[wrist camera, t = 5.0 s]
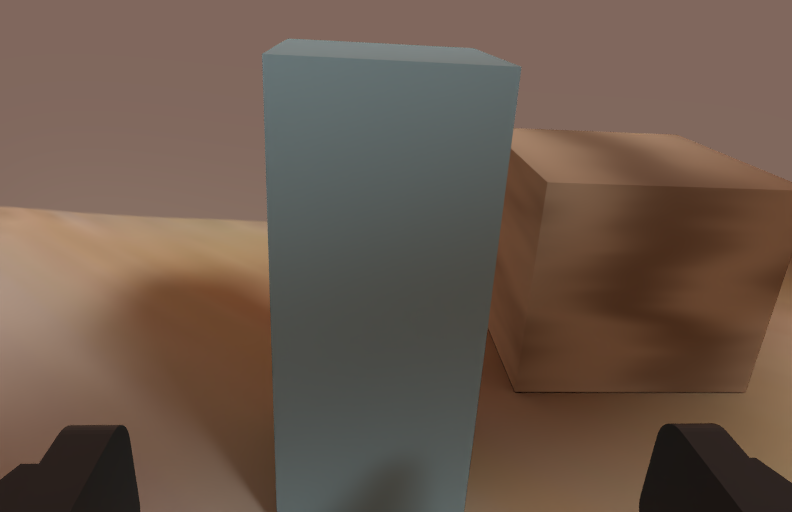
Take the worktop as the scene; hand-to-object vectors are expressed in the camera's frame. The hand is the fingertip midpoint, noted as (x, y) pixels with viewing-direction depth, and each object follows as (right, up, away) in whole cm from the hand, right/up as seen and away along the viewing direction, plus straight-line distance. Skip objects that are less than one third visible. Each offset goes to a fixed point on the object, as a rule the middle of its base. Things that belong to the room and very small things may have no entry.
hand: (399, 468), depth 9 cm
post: (-1, -3, +9) cm, 10 cm away
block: (+9, 0, +18) cm, 19 cm away
